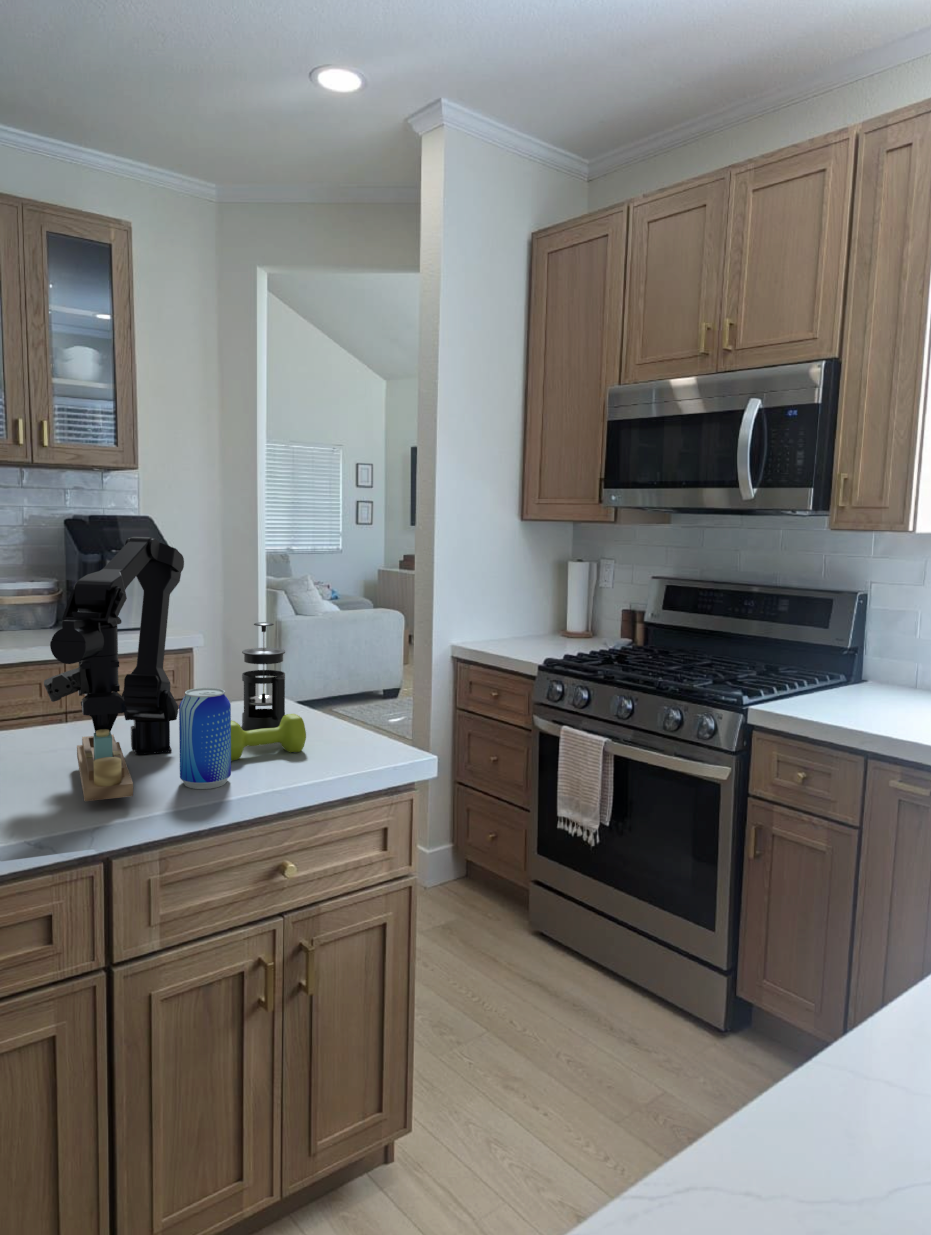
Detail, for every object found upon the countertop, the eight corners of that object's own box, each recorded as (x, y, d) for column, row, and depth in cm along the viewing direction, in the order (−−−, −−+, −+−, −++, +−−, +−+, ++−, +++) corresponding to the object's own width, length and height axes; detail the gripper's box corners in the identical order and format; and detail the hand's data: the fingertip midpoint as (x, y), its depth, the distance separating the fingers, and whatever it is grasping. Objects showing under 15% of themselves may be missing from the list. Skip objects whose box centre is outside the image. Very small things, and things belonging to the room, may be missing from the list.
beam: (119, 763, 159) (118, 723, 159) (133, 808, 136) (132, 761, 135) (77, 767, 156) (76, 726, 155) (84, 813, 133) (83, 766, 132)
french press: (230, 727, 188) (230, 621, 185) (267, 720, 195) (267, 618, 192) (262, 737, 180) (262, 627, 177) (299, 730, 187) (300, 624, 184)
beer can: (203, 793, 144) (202, 699, 142) (169, 784, 149) (168, 692, 147) (241, 781, 151) (241, 691, 149) (207, 772, 156) (207, 684, 154)
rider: (110, 760, 147) (110, 727, 147) (112, 767, 144) (112, 732, 143) (94, 762, 146) (93, 728, 145) (95, 768, 143) (94, 734, 142)
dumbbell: (225, 765, 160) (225, 727, 160) (213, 754, 167) (213, 718, 166) (309, 754, 169) (310, 718, 168) (294, 744, 176) (295, 710, 175)
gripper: (45, 647, 151) (48, 735, 153) (46, 665, 134) (49, 764, 136) (114, 644, 156) (116, 730, 157) (124, 662, 139) (125, 757, 141)
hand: (101, 744), depth 148 cm, fingers closed
